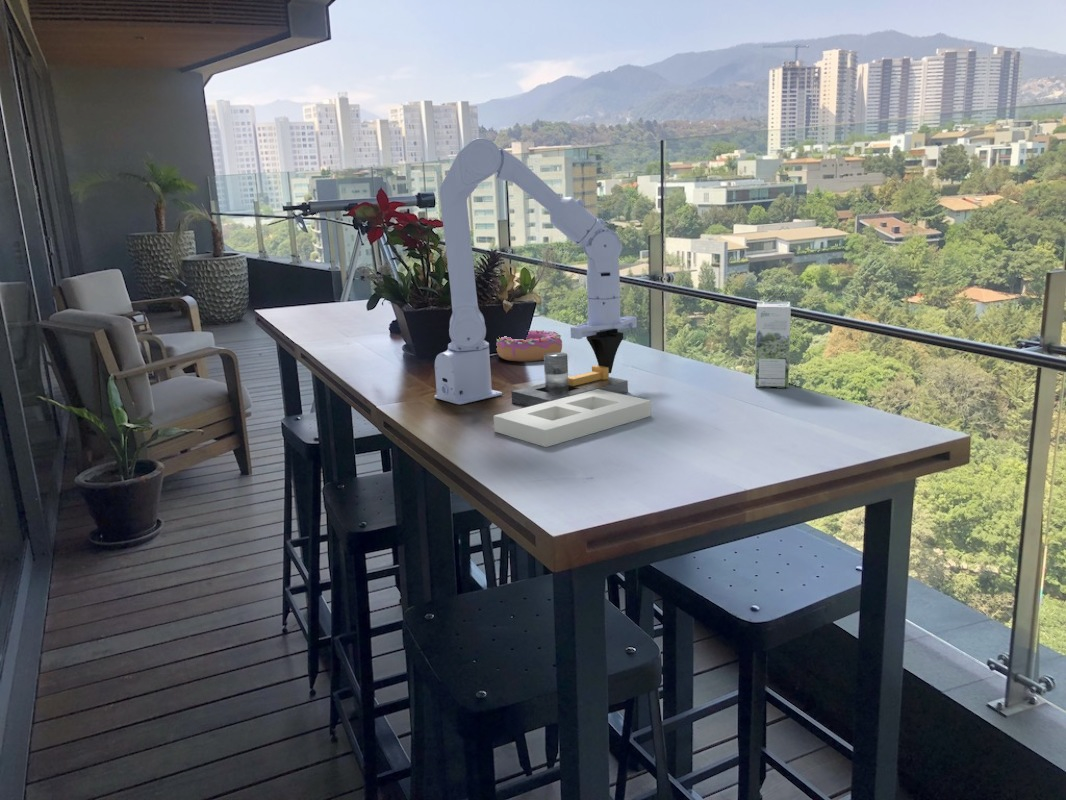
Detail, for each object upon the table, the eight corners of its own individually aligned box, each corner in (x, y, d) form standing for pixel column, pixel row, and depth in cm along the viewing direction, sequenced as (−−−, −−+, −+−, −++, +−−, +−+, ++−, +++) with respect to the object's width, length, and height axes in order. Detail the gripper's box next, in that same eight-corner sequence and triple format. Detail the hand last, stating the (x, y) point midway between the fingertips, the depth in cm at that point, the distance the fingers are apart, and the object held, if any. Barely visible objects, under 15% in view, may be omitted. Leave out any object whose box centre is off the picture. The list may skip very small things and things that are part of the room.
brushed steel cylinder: (556, 404, 147) (554, 358, 145) (540, 400, 150) (538, 355, 148) (573, 400, 149) (572, 354, 147) (558, 396, 152) (556, 351, 150)
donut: (521, 348, 198) (520, 327, 197) (574, 353, 190) (574, 330, 189) (483, 360, 187) (482, 337, 185) (538, 366, 179) (537, 342, 177)
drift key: (575, 386, 150) (575, 375, 149) (564, 383, 152) (563, 372, 151) (608, 378, 154) (608, 367, 154) (597, 376, 157) (596, 365, 156)
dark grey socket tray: (550, 412, 142) (549, 400, 141) (511, 402, 149) (511, 391, 149) (627, 391, 153) (627, 380, 153) (588, 383, 161) (588, 372, 160)
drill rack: (545, 447, 123) (545, 430, 123) (494, 431, 132) (493, 415, 132) (651, 415, 137) (651, 400, 136) (598, 403, 146) (597, 389, 145)
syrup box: (788, 381, 155) (790, 300, 152) (788, 389, 150) (790, 305, 146) (755, 380, 157) (756, 300, 153) (754, 388, 151) (755, 305, 148)
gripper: (589, 304, 145) (591, 383, 148) (648, 293, 154) (649, 368, 157) (561, 300, 150) (564, 377, 154) (620, 291, 159) (621, 363, 163)
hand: (605, 372), depth 156 cm, fingers closed
